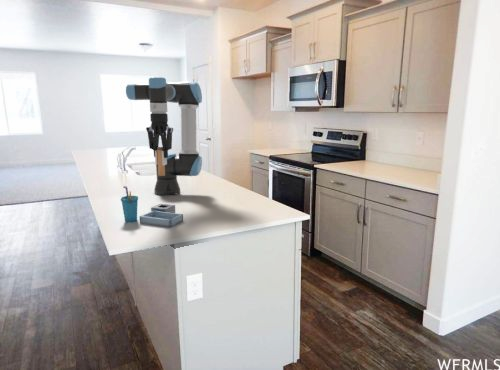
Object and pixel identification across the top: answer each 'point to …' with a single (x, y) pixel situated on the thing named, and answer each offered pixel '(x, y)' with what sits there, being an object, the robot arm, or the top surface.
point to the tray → (161, 218)
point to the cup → (129, 206)
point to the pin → (160, 162)
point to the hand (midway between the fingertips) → (161, 164)
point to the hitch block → (164, 208)
